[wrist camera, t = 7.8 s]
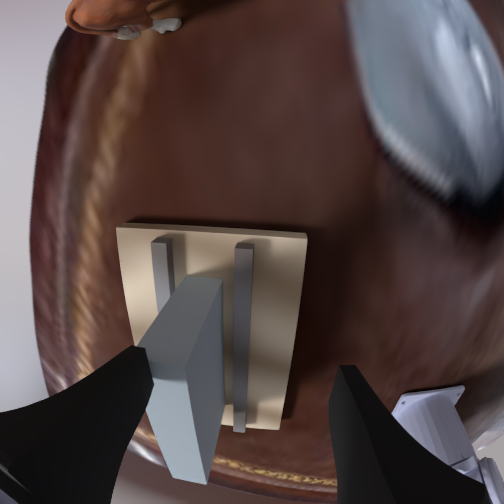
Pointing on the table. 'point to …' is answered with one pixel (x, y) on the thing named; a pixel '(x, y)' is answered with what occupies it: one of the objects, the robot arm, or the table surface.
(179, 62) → the table surface
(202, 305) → the grey rectangular block
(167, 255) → the track board
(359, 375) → the robot arm
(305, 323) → the table surface
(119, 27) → the bull figurine
